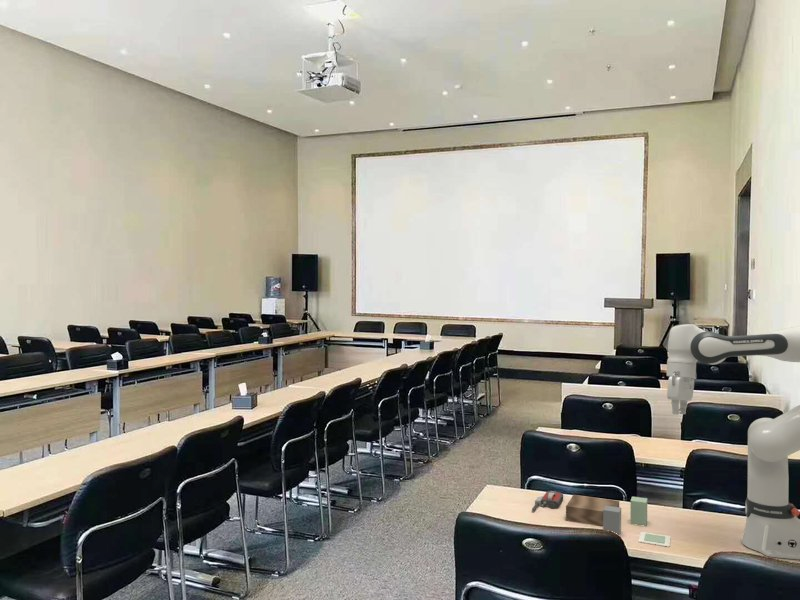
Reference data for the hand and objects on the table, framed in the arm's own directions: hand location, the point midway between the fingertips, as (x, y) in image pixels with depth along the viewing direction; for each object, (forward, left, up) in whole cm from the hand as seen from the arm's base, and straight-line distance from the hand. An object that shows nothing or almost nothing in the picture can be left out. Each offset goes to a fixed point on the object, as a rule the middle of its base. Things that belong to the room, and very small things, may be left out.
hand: (679, 414), depth 207 cm
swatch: (+7, +10, -39) cm, 41 cm away
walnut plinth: (+28, -2, -39) cm, 48 cm away
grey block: (+20, +10, -39) cm, 45 cm away
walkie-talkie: (+45, -8, -40) cm, 60 cm away
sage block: (+13, -4, -39) cm, 41 cm away
